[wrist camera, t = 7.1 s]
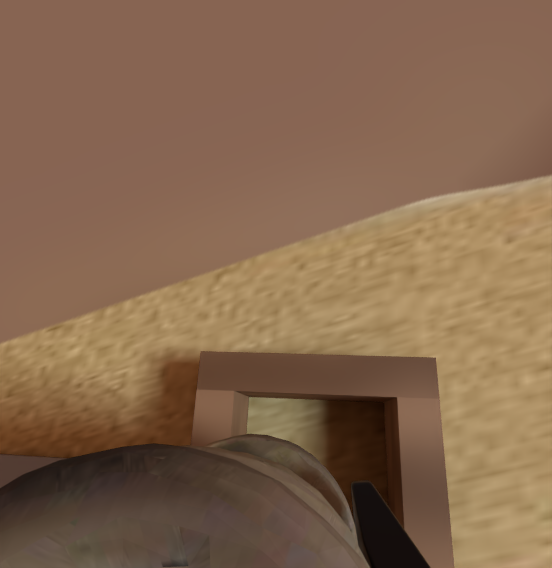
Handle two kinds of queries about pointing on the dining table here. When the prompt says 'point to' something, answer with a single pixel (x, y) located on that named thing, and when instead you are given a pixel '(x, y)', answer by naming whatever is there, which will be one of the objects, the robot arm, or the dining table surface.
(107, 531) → the light bulb
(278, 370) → the socket block
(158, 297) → the dining table surface
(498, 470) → the dining table surface
